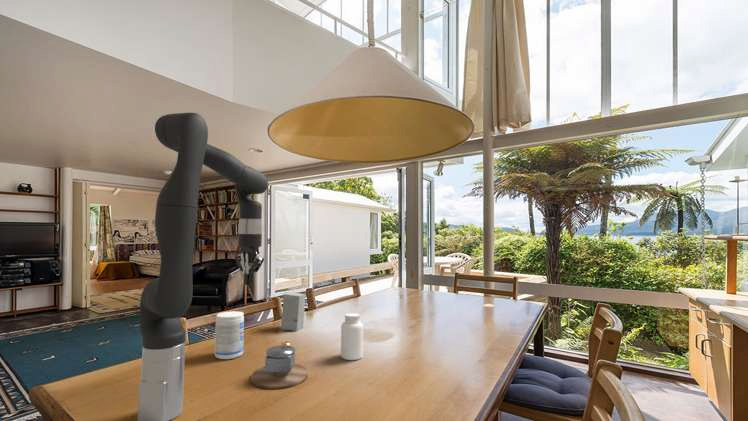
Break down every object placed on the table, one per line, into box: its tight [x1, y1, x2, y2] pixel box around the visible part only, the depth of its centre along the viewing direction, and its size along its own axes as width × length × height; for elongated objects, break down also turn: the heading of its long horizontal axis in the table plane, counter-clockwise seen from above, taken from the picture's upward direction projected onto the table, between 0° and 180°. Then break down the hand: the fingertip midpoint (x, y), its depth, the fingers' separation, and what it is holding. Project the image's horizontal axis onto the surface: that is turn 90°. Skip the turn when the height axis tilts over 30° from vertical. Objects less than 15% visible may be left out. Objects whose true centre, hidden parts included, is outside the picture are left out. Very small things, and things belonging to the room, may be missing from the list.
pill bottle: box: [340, 313, 364, 361], centre depth 131 cm, size 8×8×15 cm
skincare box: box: [280, 292, 306, 332], centre depth 165 cm, size 8×7×16 cm
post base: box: [250, 363, 309, 390], centre depth 113 cm, size 18×17×6 cm
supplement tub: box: [214, 310, 245, 360], centre depth 130 cm, size 10×10×15 cm
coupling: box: [264, 341, 296, 372], centre depth 115 cm, size 14×9×5 cm, turn 3°
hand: (248, 284), depth 120 cm, fingers closed
